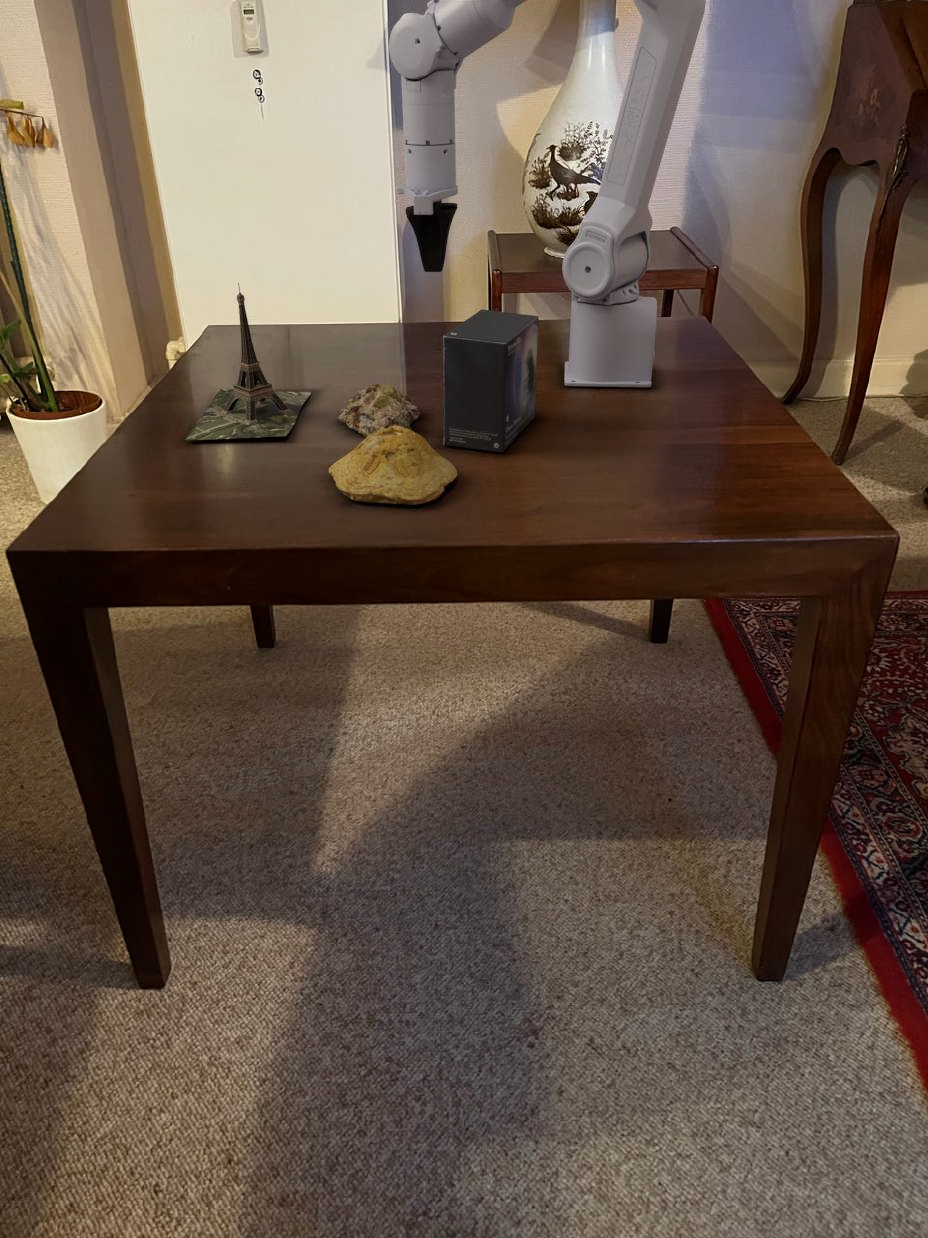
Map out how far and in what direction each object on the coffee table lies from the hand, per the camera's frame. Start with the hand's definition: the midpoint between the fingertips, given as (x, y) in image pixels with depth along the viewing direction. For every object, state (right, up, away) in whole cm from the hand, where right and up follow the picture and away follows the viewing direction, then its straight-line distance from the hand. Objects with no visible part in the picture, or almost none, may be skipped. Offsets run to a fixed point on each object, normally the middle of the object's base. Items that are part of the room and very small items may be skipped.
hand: (433, 270), depth 111 cm
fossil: (-3, -30, -30) cm, 42 cm away
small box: (+6, -23, -19) cm, 31 cm away
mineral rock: (-5, -22, -17) cm, 28 cm away
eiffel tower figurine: (-18, -21, -15) cm, 31 cm away
